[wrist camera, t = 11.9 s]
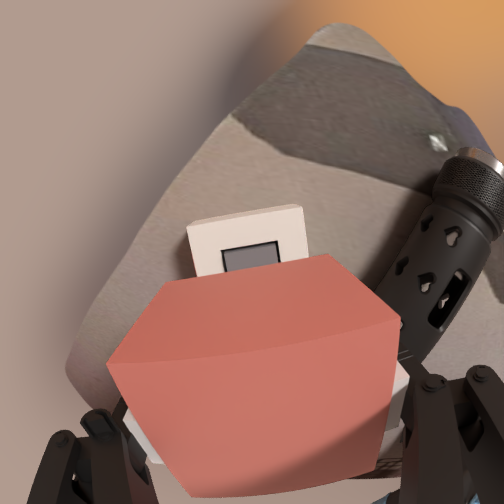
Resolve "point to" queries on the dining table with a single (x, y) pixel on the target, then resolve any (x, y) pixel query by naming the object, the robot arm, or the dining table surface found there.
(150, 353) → the salmon red cube
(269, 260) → the button tagged
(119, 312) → the dining table surface
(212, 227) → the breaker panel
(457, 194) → the muzzle brake
